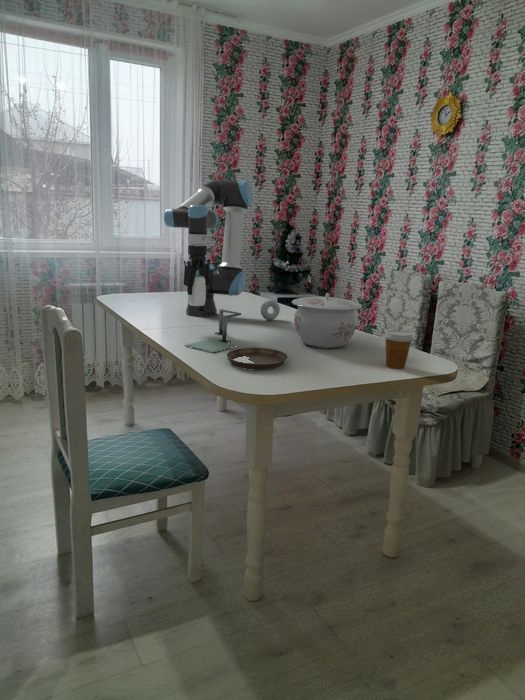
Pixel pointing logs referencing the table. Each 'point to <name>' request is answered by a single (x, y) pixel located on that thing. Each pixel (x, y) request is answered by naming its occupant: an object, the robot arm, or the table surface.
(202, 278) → the can
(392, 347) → the disposable coffee cup
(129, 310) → the table surface
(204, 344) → the mat
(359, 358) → the table surface
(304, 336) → the chamber pot
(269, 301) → the donut
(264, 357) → the plant saucer
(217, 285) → the robot arm
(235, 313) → the dark grey angled piece
